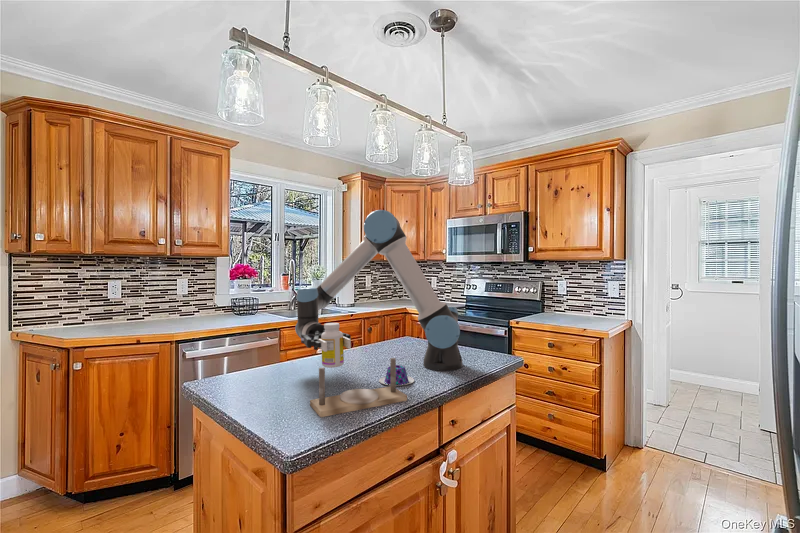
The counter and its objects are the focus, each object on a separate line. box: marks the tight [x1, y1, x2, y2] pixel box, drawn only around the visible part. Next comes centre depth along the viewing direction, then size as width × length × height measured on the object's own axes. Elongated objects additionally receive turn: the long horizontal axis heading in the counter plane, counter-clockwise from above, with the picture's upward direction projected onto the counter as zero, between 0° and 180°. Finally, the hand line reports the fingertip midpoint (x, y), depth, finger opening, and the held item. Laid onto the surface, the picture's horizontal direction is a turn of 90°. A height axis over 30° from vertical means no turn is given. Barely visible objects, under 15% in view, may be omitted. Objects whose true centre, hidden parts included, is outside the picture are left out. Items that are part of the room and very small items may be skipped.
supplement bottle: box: [321, 322, 345, 369], centre depth 122 cm, size 7×7×13 cm
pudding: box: [378, 364, 415, 387], centre depth 135 cm, size 12×12×5 cm
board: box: [309, 357, 408, 418], centre depth 114 cm, size 26×11×12 cm, turn 118°
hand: (337, 345), depth 117 cm, fingers closed on supplement bottle, 7 cm apart
